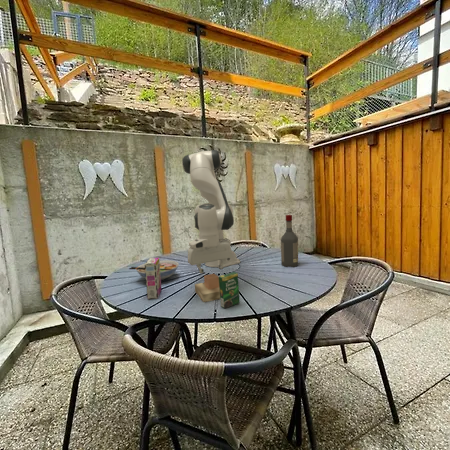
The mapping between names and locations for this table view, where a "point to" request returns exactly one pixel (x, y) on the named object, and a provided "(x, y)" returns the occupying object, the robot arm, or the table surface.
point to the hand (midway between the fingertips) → (211, 270)
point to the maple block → (207, 292)
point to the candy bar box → (153, 278)
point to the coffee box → (229, 290)
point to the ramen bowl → (165, 269)
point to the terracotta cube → (211, 281)
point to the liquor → (289, 245)
